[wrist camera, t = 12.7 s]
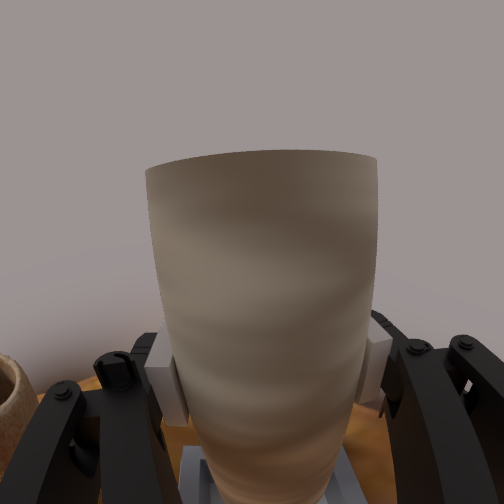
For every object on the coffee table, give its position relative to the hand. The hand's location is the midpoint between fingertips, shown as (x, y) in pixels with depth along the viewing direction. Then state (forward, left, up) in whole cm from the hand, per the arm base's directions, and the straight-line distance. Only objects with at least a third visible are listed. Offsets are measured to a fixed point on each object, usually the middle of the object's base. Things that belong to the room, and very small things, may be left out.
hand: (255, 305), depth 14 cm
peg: (0, -5, -8) cm, 10 cm away
